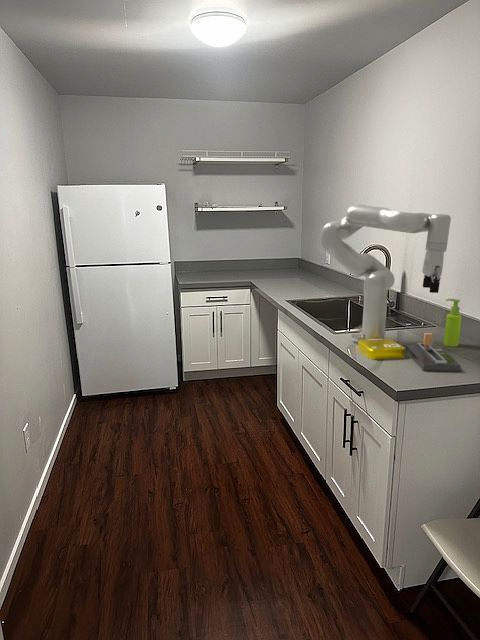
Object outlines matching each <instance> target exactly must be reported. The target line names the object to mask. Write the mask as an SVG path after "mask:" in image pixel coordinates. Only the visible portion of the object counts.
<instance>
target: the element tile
mask: <svg viewBox="0 0 480 640" xmlns="http://www.w3.org/2000/svg"><path fill="white" fill-rule="evenodd" d="M357 350H358V351H359V352H360V353H361V354H363V355H364V356H365V358H366V357H367V358H368V359H370V360H372V361H373V360H374V361H377V360H378V361H379V360H391V359H392V360H393V359H404V358H405V354H406V353H405V352H406V351H405V347H404V346H403V345H401V344H400V343H398V342H397V341H395V340H393V339H392V338H390V337H387V338H386V337H384V338H380V339H360V340H358V339H357Z"/></svg>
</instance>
